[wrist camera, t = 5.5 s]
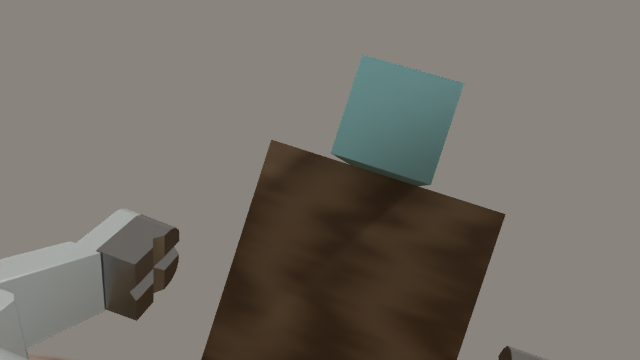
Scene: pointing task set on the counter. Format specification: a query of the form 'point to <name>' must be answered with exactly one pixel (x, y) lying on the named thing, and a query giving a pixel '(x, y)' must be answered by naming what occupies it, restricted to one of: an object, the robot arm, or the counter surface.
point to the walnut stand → (350, 267)
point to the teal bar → (396, 121)
